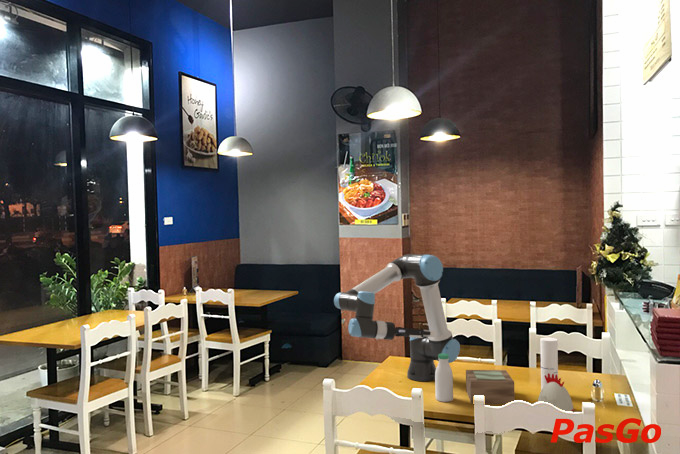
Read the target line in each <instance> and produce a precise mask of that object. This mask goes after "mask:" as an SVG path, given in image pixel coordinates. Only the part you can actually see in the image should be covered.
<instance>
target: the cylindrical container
mask: <svg viewBox="0 0 680 454" xmlns="http://www.w3.org/2000/svg"><path fill="white" fill-rule="evenodd" d="M539 339H540V340H539V341H540V343H539V344H540V347H539V348H540V349H539V350H540V391H541V390H542V389H543V387H544V386H545V385H546V384H547V381H546V379H545V375H546V376H547V378H548V373H549V374H550V377H552V374H554V379H555V375H557V377H558V378H559V366H558V365H559V364H558V363H559V359H558V357H559V356H558V355H559V354H558V351H559V349H558V339H557V338H554V337H549V336H548V337H547V336H546V337H541V338H539Z"/></svg>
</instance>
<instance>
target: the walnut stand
mask: <svg viewBox="0 0 680 454" xmlns="http://www.w3.org/2000/svg"><path fill="white" fill-rule="evenodd" d="M465 391H466V394H467V397H468V399H469V401H470V404H471V405H474V404H473V396H474V395H484V396H485V404H484V405H499V404H502V405H504V404H506V403H508V402H511V401H514V400H515V399H516V398H515V397H516V396H515V381H514V380H513V378H512V377H511V375H510V374H509V372H508V371H507V369H465Z"/></svg>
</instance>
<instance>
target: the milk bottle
mask: <svg viewBox="0 0 680 454" xmlns="http://www.w3.org/2000/svg"><path fill="white" fill-rule="evenodd" d="M438 359H439V361H438V363H437V366H436V371H435V380H434V385H435V386H434V387H435V388H434V389H435V393H434V394H435V396H434V397H435V400H436V401H438V402H442V403H446V402H447V403H448V402H452V401H453V400H454V380H453V379H454V376H453V370H452V367H451V365H450V363H449V362H448V360H449V355H448V354H445V353H441V354H438Z"/></svg>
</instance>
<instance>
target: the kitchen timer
mask: <svg viewBox="0 0 680 454" xmlns="http://www.w3.org/2000/svg"><path fill="white" fill-rule="evenodd" d="M545 379H546V381H547V384H546V385H545V386H544V387H543V389H542V390H541V389H540V392H539V396H538V399H537V402H538V401H544V402H548V403H551V404H553V405H554V406H556V407H558V408H560V409H562V410H565V411H574V404H573V401H572V398H571V396H570V393H569V392H568V390H567V388H566V387H565V386H564V384H565V381H562V383H561V380H562V377H559V376H558V377H557V375H555V379H554V374H552V377H550V374H549V373H548V378H547V376H546V375H545Z"/></svg>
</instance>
